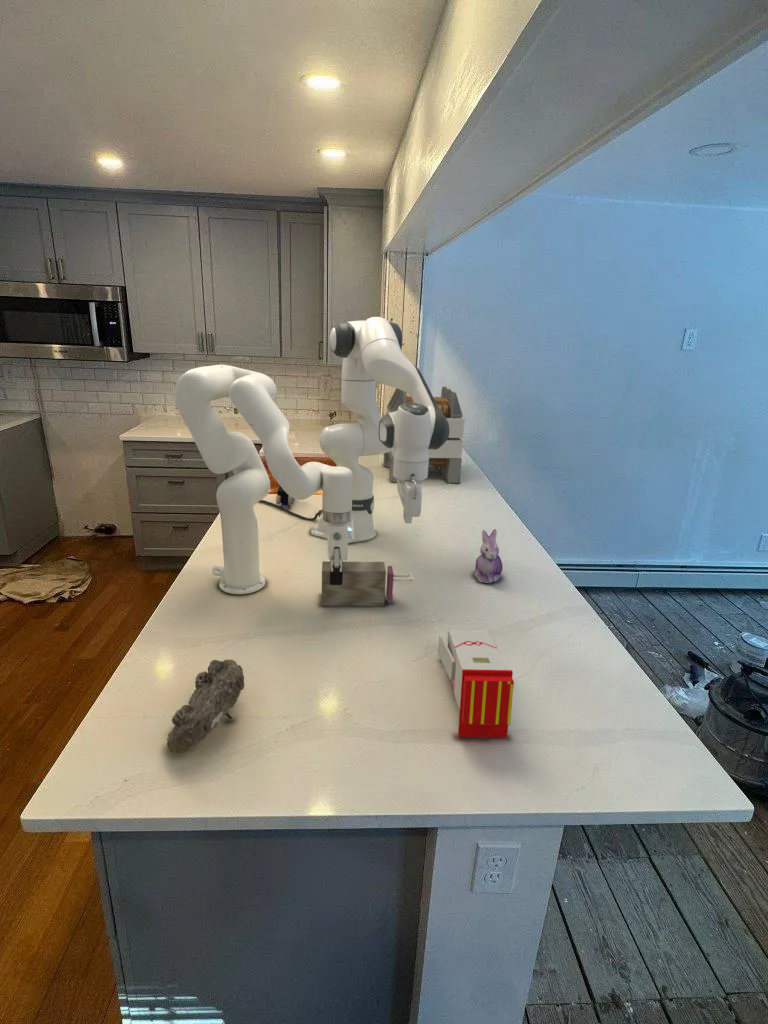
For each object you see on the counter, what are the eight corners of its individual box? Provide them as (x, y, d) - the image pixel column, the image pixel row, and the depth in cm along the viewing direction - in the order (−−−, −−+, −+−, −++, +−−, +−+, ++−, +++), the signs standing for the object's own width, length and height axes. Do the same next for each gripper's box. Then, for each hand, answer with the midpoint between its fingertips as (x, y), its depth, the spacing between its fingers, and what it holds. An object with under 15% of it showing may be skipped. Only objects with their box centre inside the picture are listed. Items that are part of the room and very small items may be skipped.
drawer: (411, 593, 157) (412, 565, 154) (413, 601, 152) (415, 573, 149) (334, 593, 155) (334, 565, 152) (334, 601, 150) (334, 573, 148)
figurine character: (293, 513, 218) (297, 497, 231) (292, 495, 215) (297, 480, 228) (275, 513, 218) (281, 496, 231) (274, 495, 214) (280, 479, 228)
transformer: (382, 463, 289) (386, 382, 275) (445, 464, 293) (451, 384, 279) (390, 482, 257) (394, 392, 243) (460, 483, 261) (468, 394, 247)
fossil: (192, 660, 117) (244, 628, 112) (224, 691, 120) (276, 661, 115) (142, 746, 98) (202, 712, 93) (182, 779, 101) (242, 748, 96)
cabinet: (382, 595, 157) (384, 561, 153) (384, 605, 151) (386, 571, 148) (322, 595, 155) (322, 561, 152) (321, 605, 150) (321, 571, 146)
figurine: (485, 587, 164) (491, 539, 159) (465, 572, 172) (469, 526, 167) (511, 581, 168) (517, 534, 163) (490, 567, 176) (495, 522, 171)
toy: (488, 613, 130) (523, 677, 101) (484, 667, 133) (517, 744, 104) (435, 612, 130) (455, 676, 101) (432, 666, 133) (451, 743, 103)
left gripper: (352, 527, 137) (351, 594, 143) (350, 504, 153) (349, 564, 159) (321, 527, 136) (321, 594, 142) (323, 503, 152) (322, 564, 158)
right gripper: (429, 482, 133) (425, 536, 137) (417, 459, 152) (414, 508, 156) (402, 481, 132) (399, 536, 137) (394, 459, 151) (391, 507, 156)
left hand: (336, 578), depth 151 cm, fingers closed on cabinet, 6 cm apart
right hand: (407, 521), depth 147 cm, fingers closed
